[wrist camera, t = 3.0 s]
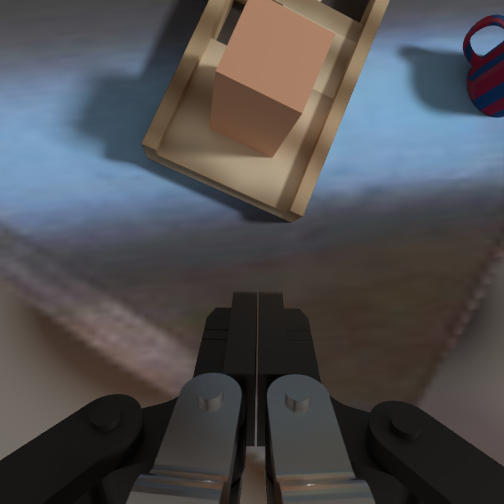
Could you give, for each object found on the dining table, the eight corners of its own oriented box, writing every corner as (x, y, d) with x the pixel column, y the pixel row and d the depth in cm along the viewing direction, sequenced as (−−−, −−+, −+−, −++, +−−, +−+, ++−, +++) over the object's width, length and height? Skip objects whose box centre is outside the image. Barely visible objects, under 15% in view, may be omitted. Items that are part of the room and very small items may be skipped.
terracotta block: (272, 157, 32) (302, 113, 24) (209, 128, 32) (215, 70, 23) (297, 98, 33) (335, 33, 24) (236, 68, 32) (252, -10, 24)
